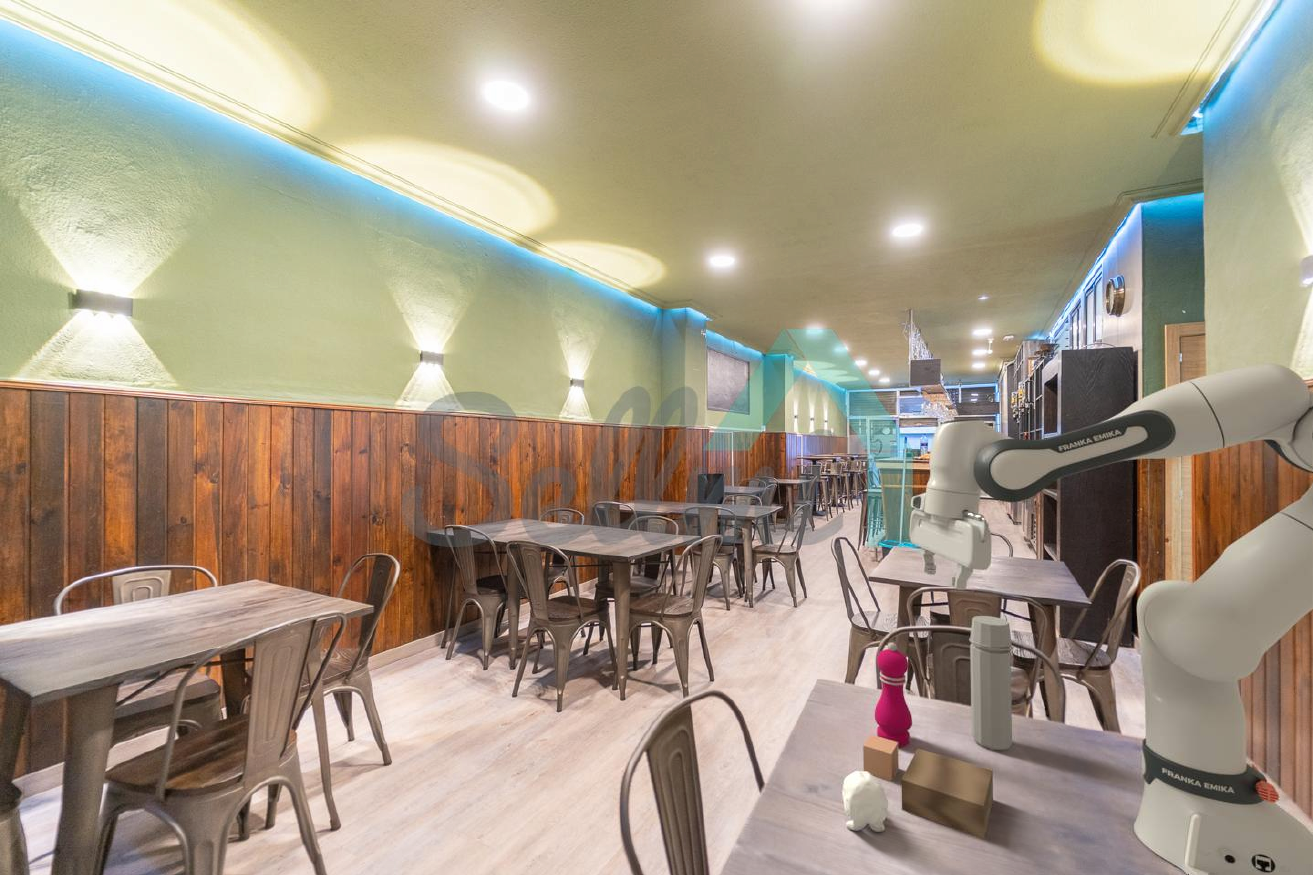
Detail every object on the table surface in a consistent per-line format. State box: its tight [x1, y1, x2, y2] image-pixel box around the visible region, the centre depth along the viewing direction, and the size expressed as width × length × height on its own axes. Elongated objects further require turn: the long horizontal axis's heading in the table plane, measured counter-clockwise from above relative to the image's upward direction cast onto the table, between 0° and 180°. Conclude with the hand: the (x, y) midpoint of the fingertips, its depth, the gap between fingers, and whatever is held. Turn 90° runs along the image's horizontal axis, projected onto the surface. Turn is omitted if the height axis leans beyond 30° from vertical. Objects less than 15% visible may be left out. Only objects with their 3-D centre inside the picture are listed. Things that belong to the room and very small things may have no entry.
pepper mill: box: [874, 642, 913, 748], centre depth 118 cm, size 7×7×20 cm
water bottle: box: [968, 615, 1014, 752], centre depth 117 cm, size 9×8×25 cm
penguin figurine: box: [840, 770, 889, 833], centre depth 93 cm, size 6×8×12 cm
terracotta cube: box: [862, 734, 900, 782], centre depth 107 cm, size 5×5×5 cm
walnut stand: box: [900, 748, 994, 839], centre depth 96 cm, size 12×12×5 cm
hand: (943, 580), depth 104 cm, fingers open, 8 cm apart
